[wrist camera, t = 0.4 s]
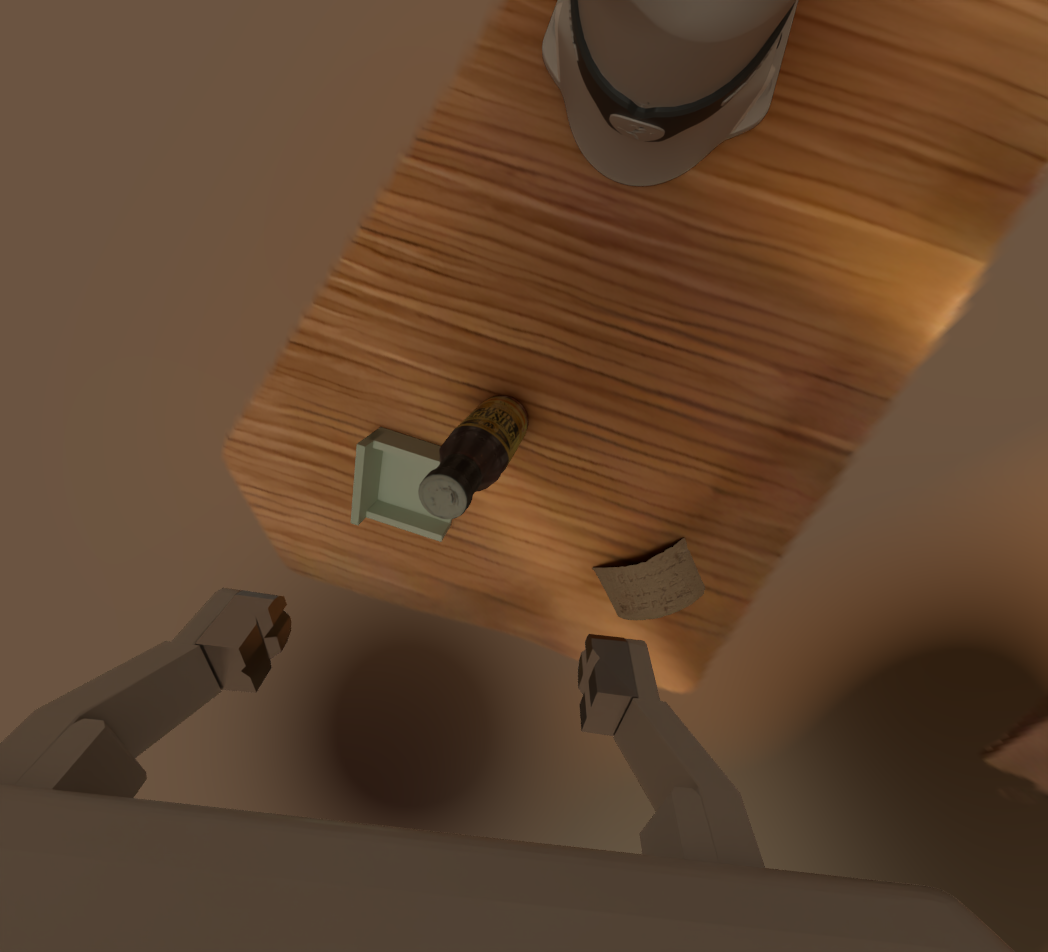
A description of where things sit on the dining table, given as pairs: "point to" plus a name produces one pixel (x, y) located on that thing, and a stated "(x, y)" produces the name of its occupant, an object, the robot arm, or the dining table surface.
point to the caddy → (395, 482)
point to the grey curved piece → (653, 584)
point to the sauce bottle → (474, 456)
